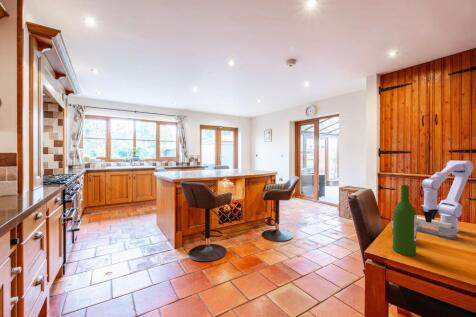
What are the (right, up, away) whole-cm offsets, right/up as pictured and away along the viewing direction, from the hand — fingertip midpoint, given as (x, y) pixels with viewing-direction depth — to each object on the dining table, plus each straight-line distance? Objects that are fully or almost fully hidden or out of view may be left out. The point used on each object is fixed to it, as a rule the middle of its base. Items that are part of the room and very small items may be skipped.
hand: (429, 221), depth 126 cm
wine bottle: (-34, -8, -24) cm, 43 cm away
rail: (0, -3, 0) cm, 3 cm away
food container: (-23, -7, -8) cm, 25 cm away
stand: (0, -7, 0) cm, 6 cm away
